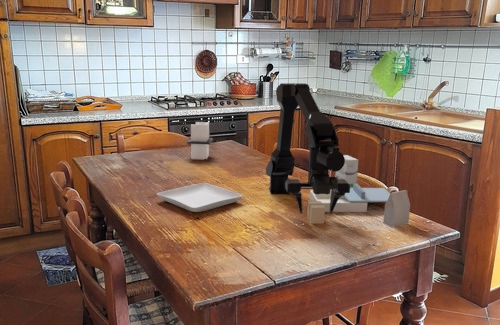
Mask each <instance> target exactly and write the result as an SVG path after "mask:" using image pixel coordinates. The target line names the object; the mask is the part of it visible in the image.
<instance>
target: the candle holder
mask: <svg viewBox="0 0 500 325" xmlns="http://www.w3.org/2000/svg"><path fill="white" fill-rule="evenodd" d="M213 141H214V138H213V137H210V121H209V122H208V121H207V122H205V121H195V124H192V123H191V124H190V138H189V139H188V140H187V141H186V144H187V145H190V146H191V147H190V149H191V150H190V152H191V153H190V154H191V155H190V157H191V158H190V160H204V159H206V160H208V158H209V157H210V156H209V155H210V144H211V143H212V142H213Z"/></svg>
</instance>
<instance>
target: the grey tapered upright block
mask: <svg viewBox="0 0 500 325" xmlns="http://www.w3.org/2000/svg"><path fill="white" fill-rule="evenodd" d="M389 193H390V196H389V198H388V200H387V202H385V204H384V210H383V211H384V213H383V221H382V222H383V224H385V225H387V226H389V227H392V228H395V227H398V226H404V225H407V224H409V220H410V210H411V202H410V199H409V195H408V190H407V189H405V190H399V191H394V192H389ZM406 223H407V224H406Z"/></svg>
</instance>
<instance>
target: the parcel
mask: <svg viewBox="0 0 500 325" xmlns="http://www.w3.org/2000/svg"><path fill="white" fill-rule="evenodd" d="M325 213H326V212H325V207H324V205H323V204H322V202H321V201H311V200H310V201H309V200H308V201H307V216H306V217H307V218H308V221H309V223H310V224H325V216H326V215H325Z"/></svg>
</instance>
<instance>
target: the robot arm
mask: <svg viewBox="0 0 500 325" xmlns="http://www.w3.org/2000/svg"><path fill="white" fill-rule="evenodd" d="M310 89H311V88H310V85H309V84H308V83H305V82H304V83H301V82H300V83H298V82H292V83H291V82H287V83H280V84H279V85H278V86H277V87H276V89H275V95H276V102H277V104H278V106H279V108H280V112H279V118H278V119H279V121H278V129H277V141H276V148H275V149H274V150H273V152H272V153H271V155H270V158H269V161H268V163H267V165H266V167H265V174H266V175H267V176H268V177H269V187H268V190H269V193H270V194H271V195H272V194H273V195H274V194H278V195H282V194H287V195H288V194H291V195H292V196H294V198H295V199H296V203H297V207H298V210H299V211H298V212H299V213H300V214H302V213H303V206H302V205H303V203H302V202H303V201H302V196H303V194H302V192H301V191H302V190H313V192H314V194H330V190H331V200H330V212H329V214H332V213H334V212H333V209H334V207H335V205H336V203H337V201H338V199H339V198H340V197H341V196H343V195H345V193H350V185H349V183H348V182H347V181H346V180H345V179H337V177H335V176H330V175H329V171H331V172H333V173H336V171H339V170H341V169H342V167H343V166H344V163H345V159H344V156H343V155H344V154H343V153H342V152H340V147H339V146H340V145H339V136H338V135H337V132H336V130H335V129H336V128H335V127H334V125H333V122H332V121H331V119H329V117H328V116H326V115H324V114H323V113H322V112H321V111H320V108H319V107H318V104H317V103H316V101H315V99H314V97H313V94H312V93H311V91H310ZM298 108H299V109H300V111H301V114H302V115H303V117H304V120H305V123H306V125H305V128H304V130H305V133H306V134H305V135H306V137H307V140H308V142H307V146H308V147H309V155H308V156H309V158H308V175H307V182H300V179H299V178H289V177H290V176H293V174H294V170H295V160H296V159H295V156H294V155H293V153H292V151H291V144H292V137H293V129H294V119H295V111H296V109H298Z"/></svg>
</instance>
